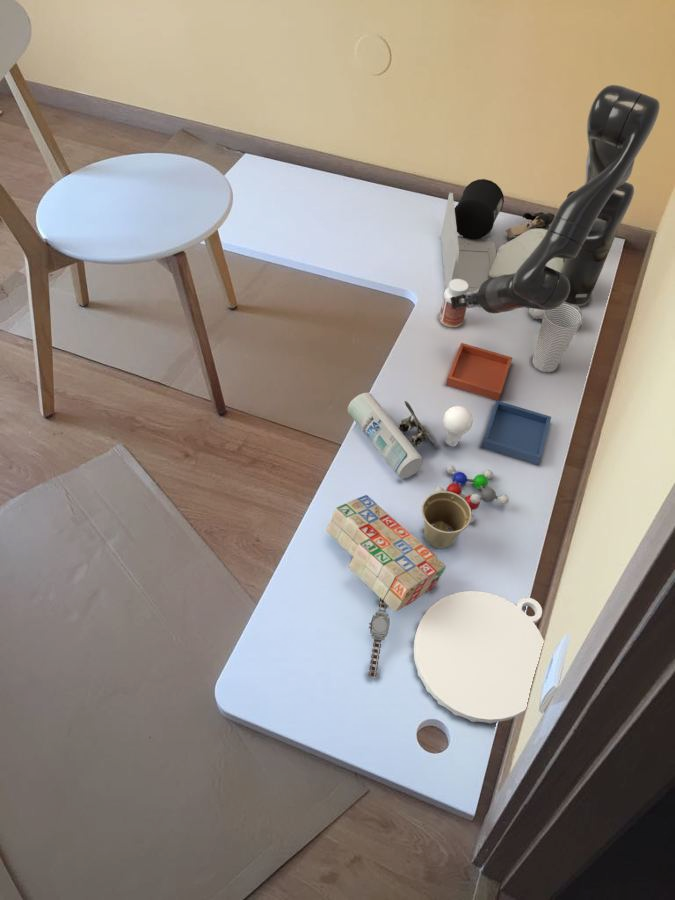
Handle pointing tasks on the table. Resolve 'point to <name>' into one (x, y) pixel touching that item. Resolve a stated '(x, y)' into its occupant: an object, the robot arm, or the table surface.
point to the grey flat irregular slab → (520, 253)
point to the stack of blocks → (384, 553)
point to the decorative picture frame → (410, 424)
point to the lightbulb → (457, 423)
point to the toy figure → (531, 223)
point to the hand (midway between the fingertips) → (471, 300)
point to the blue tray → (516, 432)
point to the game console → (465, 253)
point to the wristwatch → (378, 634)
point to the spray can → (385, 435)
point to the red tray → (479, 371)
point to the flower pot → (444, 518)
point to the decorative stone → (539, 313)
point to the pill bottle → (447, 313)
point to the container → (478, 209)
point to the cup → (555, 336)
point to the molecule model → (479, 482)
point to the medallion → (479, 654)
